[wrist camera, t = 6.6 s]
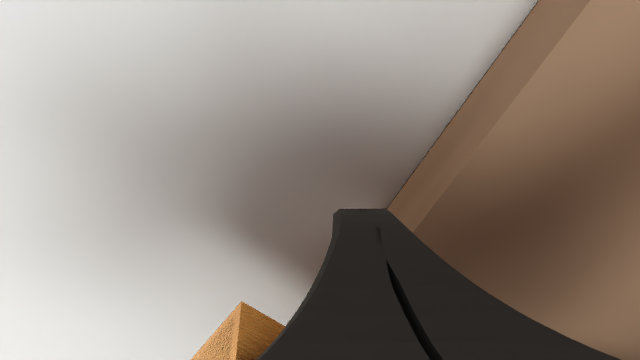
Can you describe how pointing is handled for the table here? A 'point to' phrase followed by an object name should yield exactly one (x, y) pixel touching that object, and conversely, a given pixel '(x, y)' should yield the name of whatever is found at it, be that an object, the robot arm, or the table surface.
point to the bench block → (547, 176)
